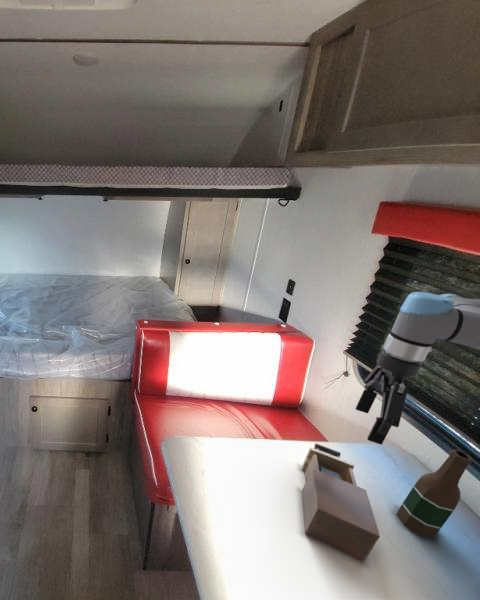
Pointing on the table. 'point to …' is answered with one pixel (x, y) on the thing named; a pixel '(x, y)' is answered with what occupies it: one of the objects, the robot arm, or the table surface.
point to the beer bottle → (434, 497)
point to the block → (329, 472)
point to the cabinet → (338, 515)
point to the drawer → (328, 463)
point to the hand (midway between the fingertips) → (367, 425)
